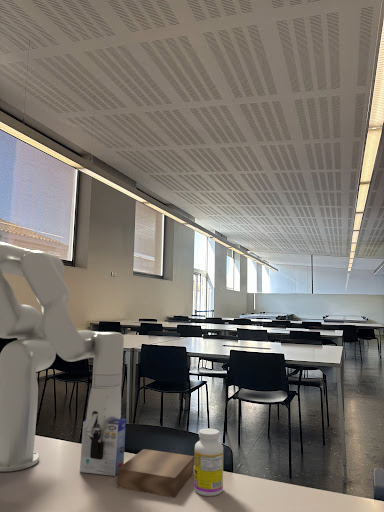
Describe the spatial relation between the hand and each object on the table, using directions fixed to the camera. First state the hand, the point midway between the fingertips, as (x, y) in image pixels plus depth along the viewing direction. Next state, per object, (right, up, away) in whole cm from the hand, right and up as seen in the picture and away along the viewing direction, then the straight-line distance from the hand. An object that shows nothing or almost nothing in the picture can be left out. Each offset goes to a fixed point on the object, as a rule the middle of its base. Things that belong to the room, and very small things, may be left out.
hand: (103, 453), depth 98 cm
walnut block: (+14, -4, -5) cm, 16 cm away
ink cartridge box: (0, -4, -1) cm, 4 cm away
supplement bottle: (+26, -3, -10) cm, 28 cm away
